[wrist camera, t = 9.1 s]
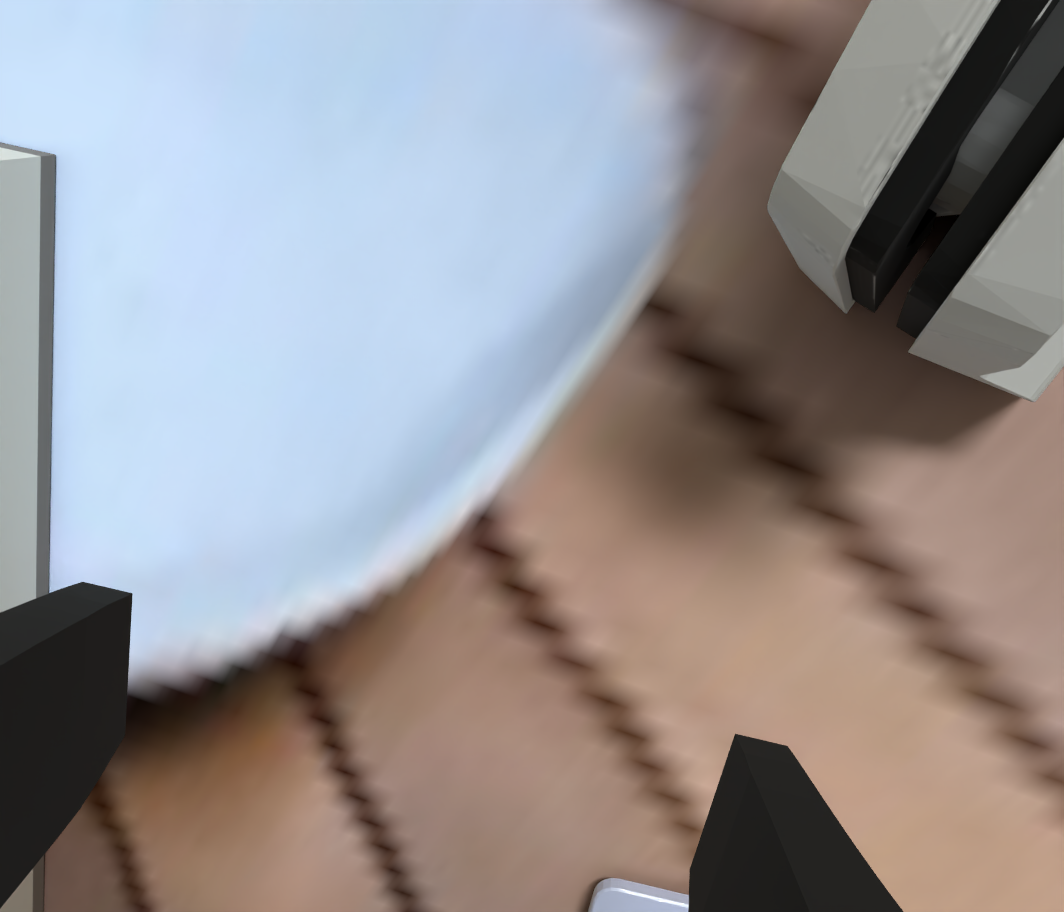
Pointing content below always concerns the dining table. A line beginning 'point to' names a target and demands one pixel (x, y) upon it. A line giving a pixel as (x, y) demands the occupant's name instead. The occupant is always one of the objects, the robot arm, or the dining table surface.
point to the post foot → (25, 398)
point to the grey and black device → (942, 182)
